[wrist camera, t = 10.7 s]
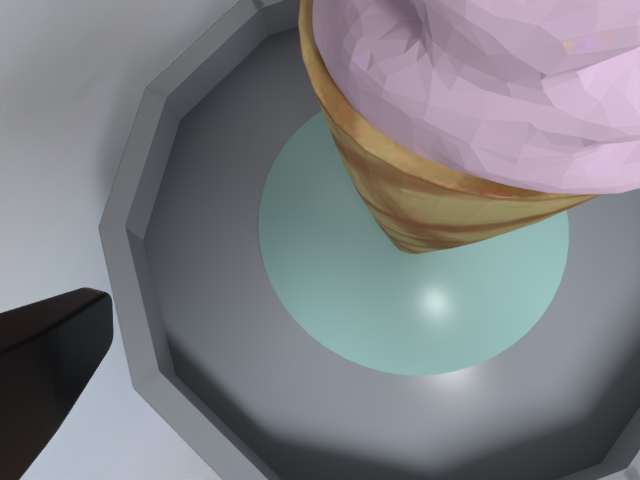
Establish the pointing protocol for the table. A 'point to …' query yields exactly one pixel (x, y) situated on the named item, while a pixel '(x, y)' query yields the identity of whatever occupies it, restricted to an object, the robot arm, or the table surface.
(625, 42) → the ice cream cone
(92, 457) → the table surface
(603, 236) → the round tray
